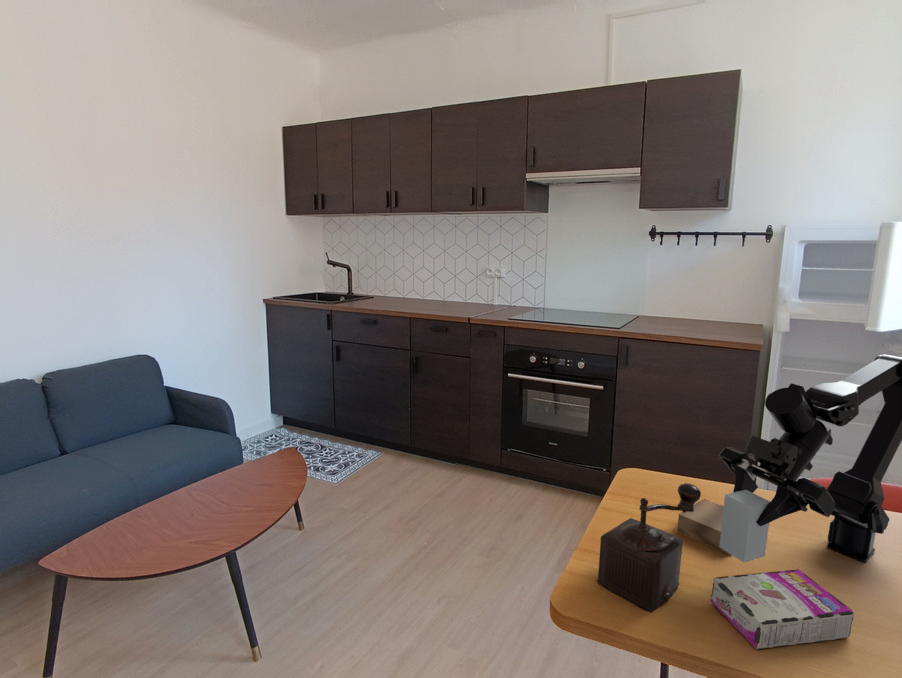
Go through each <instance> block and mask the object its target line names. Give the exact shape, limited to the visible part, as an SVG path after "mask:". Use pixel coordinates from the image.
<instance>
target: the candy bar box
mask: <svg viewBox="0 0 902 678" xmlns="http://www.w3.org/2000/svg"><path fill="white" fill-rule="evenodd" d="M710 603H711V604H712V605H713V606H714V607H715V608H716V609H717V610H718V611H719V612H720V613H721V614H722V615H723V617H725V618H726V619H727V621H729V623H730V624H732V626H733V627H734V628H735V629H736V630H737V631H738V632H739V633H740V635H742V637H744V638H745V640H747V642H749V644H750V645H751V646H752V647H753V648H754V649H755V650H761V649H762V650H763V649H769V648H778V647H784V646H785V647H786V646H795V645H803V644H809V643H816V642H817V643H818V642H826V641H827V642H828V641H833V640H842V639H849V638H850V636H851V633H852V624H853V619H854V615H855V612H854V611H853V609H851V608H850V607H849V606H847V605H846V604H845V603H843V602H842V601H841V600H840V599H838V598H837V597H836V596H834V595H833V594H831V592H829V591H828V590H826V589H825V588H824V587H823V586H821V585H820V584H818V583H817V582H816V581H815V580H813V579H812V578H811V577H810V576H808V575H807V574H806V573H804V571H802V570H800V569H799V568H797V569H787V570H777V571H768V572H767V571H766V572H759V573H758V572H757V573H749V574H748V573H747V574H737V575H729V576H728V575H726V576H725V575H724V576H717V577H713V579H712V589H711V594H710Z"/></svg>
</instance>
